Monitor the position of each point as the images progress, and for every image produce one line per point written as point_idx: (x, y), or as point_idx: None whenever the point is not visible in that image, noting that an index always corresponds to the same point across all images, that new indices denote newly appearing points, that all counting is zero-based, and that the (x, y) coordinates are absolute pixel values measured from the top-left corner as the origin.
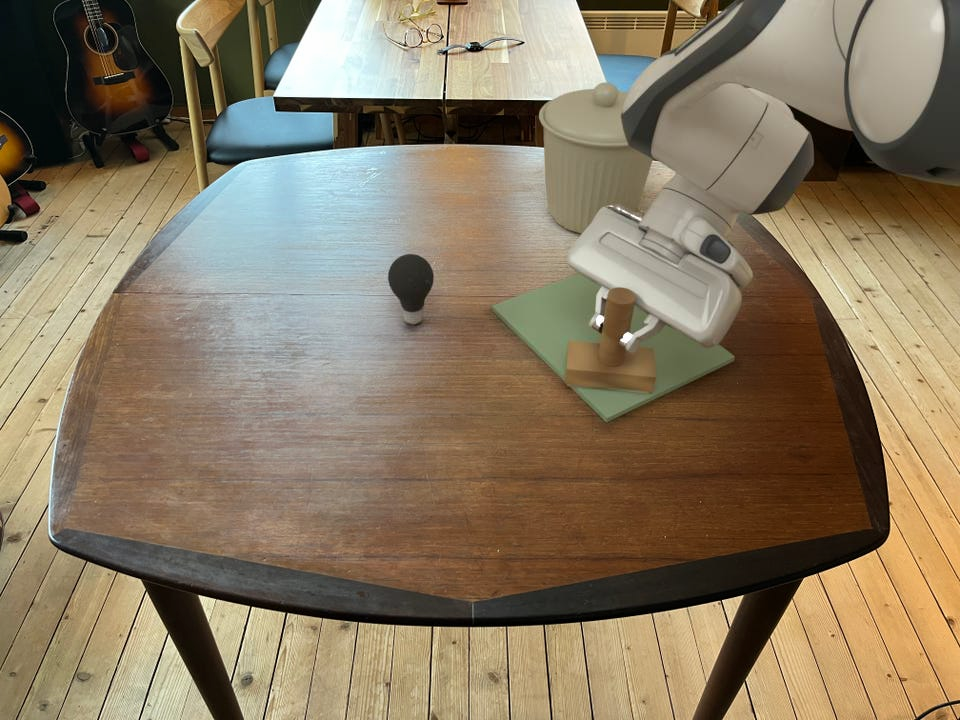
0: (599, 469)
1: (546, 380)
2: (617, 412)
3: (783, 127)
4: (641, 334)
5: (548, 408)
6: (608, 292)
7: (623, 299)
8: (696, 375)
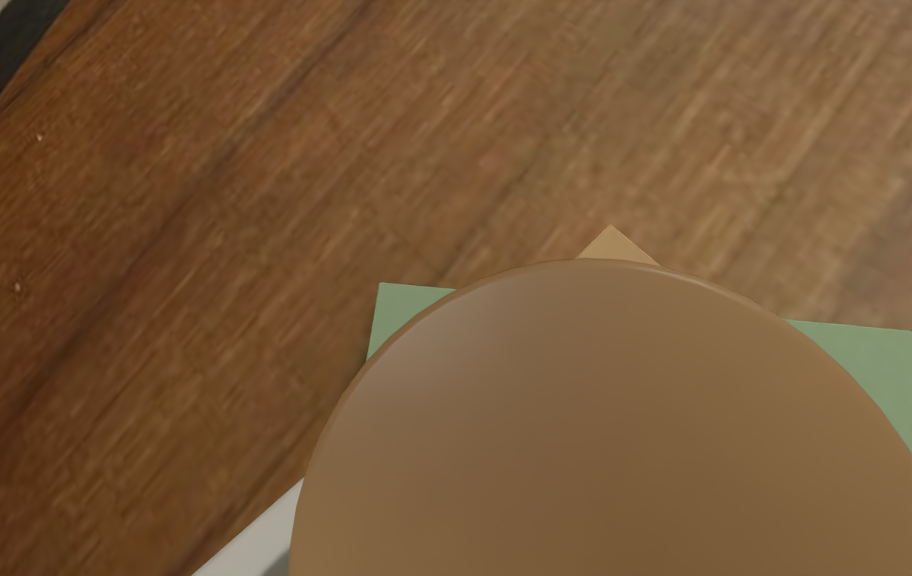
0: (277, 146)
1: (685, 263)
2: (373, 331)
3: None
4: (275, 509)
5: (560, 179)
6: (872, 407)
7: (459, 469)
8: None
